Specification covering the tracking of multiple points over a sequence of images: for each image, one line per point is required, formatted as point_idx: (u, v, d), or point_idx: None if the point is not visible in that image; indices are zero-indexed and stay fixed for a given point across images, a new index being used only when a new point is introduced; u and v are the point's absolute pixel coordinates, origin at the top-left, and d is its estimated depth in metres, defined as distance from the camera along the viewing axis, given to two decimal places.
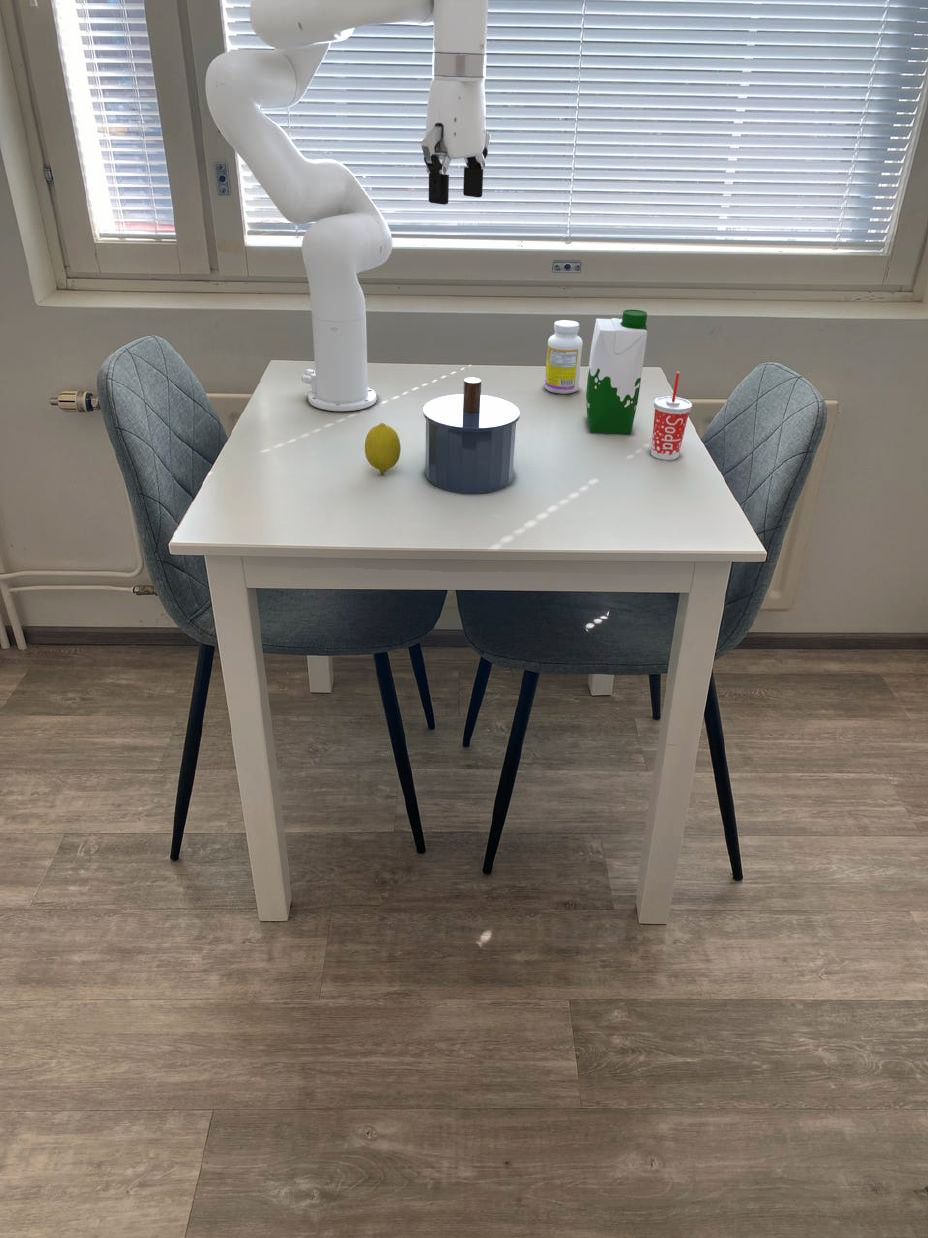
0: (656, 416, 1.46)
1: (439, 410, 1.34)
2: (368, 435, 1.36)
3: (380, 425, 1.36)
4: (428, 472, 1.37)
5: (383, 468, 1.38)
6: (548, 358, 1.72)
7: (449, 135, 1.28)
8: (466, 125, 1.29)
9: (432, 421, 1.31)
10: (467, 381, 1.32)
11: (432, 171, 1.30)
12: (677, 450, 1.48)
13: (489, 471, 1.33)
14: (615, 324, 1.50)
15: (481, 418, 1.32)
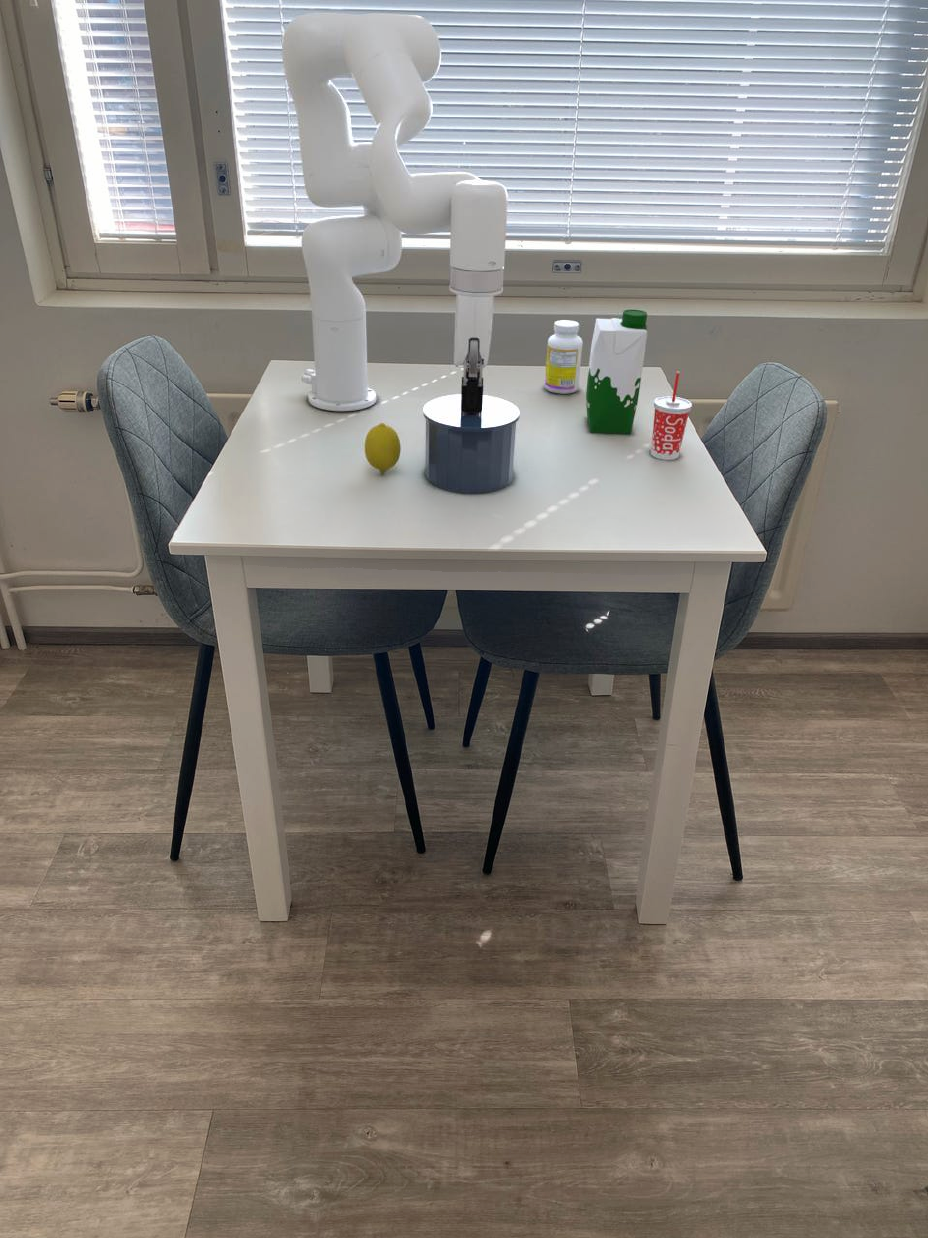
0: (656, 416, 1.46)
1: (439, 410, 1.34)
2: (368, 435, 1.36)
3: (380, 425, 1.36)
4: (428, 472, 1.37)
5: (383, 468, 1.38)
6: (548, 358, 1.72)
7: (486, 348, 1.25)
8: None
9: (432, 421, 1.31)
10: None
11: (470, 385, 1.30)
12: (677, 450, 1.48)
13: (489, 471, 1.33)
14: (615, 324, 1.50)
15: (481, 418, 1.32)
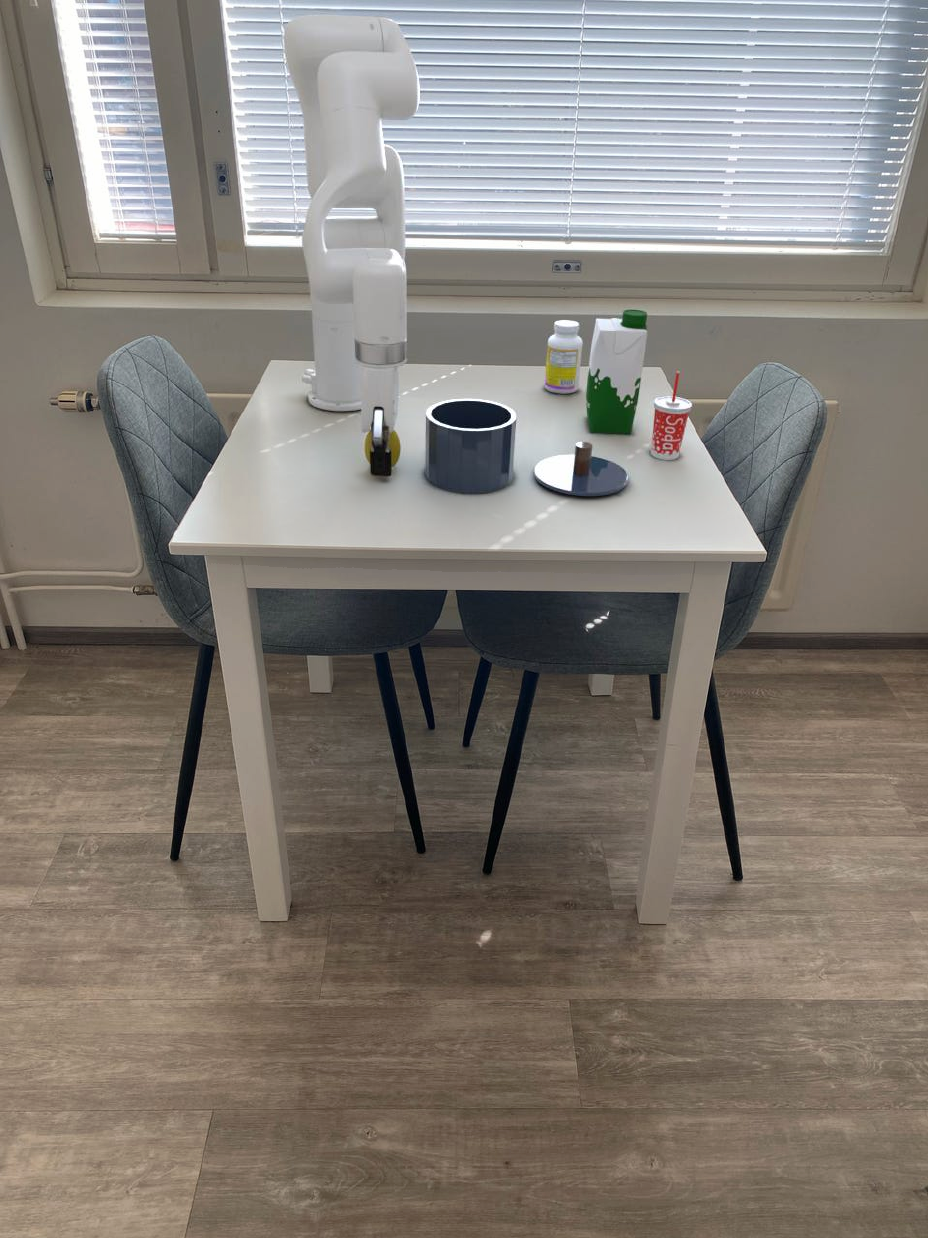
0: (656, 416, 1.46)
1: (550, 473, 1.39)
2: (368, 435, 1.36)
3: None
4: (428, 472, 1.37)
5: None
6: (548, 358, 1.72)
7: (390, 416, 1.30)
8: (397, 401, 1.33)
9: (546, 485, 1.36)
10: (579, 446, 1.37)
11: (377, 451, 1.34)
12: (677, 450, 1.48)
13: (489, 471, 1.33)
14: (615, 324, 1.50)
15: (593, 482, 1.37)
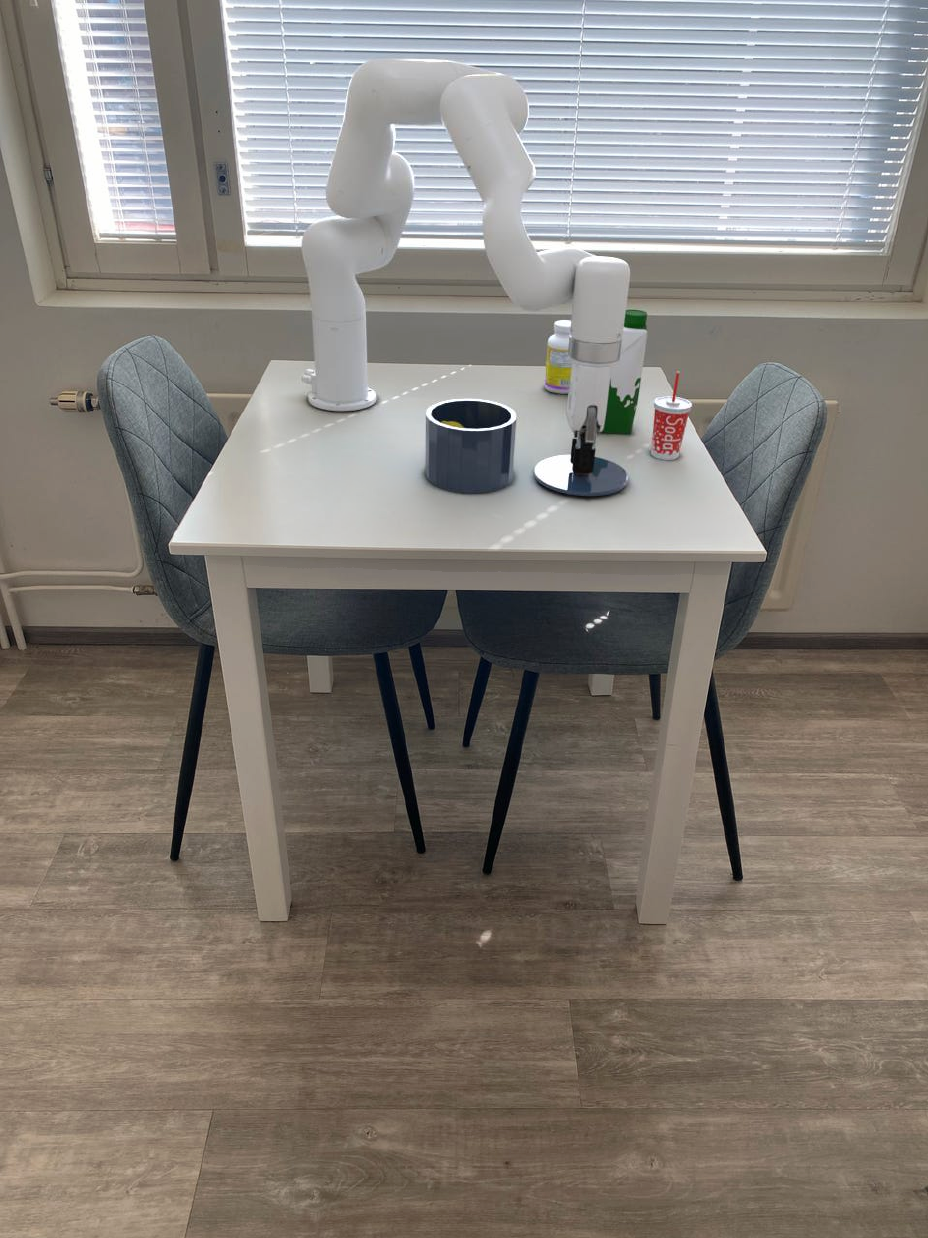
0: (656, 416, 1.46)
1: (550, 473, 1.39)
2: None
3: None
4: (428, 472, 1.37)
5: None
6: (548, 358, 1.72)
7: (603, 415, 1.30)
8: None
9: (546, 485, 1.36)
10: None
11: (584, 448, 1.35)
12: (677, 450, 1.48)
13: (489, 471, 1.33)
14: None
15: (593, 482, 1.37)
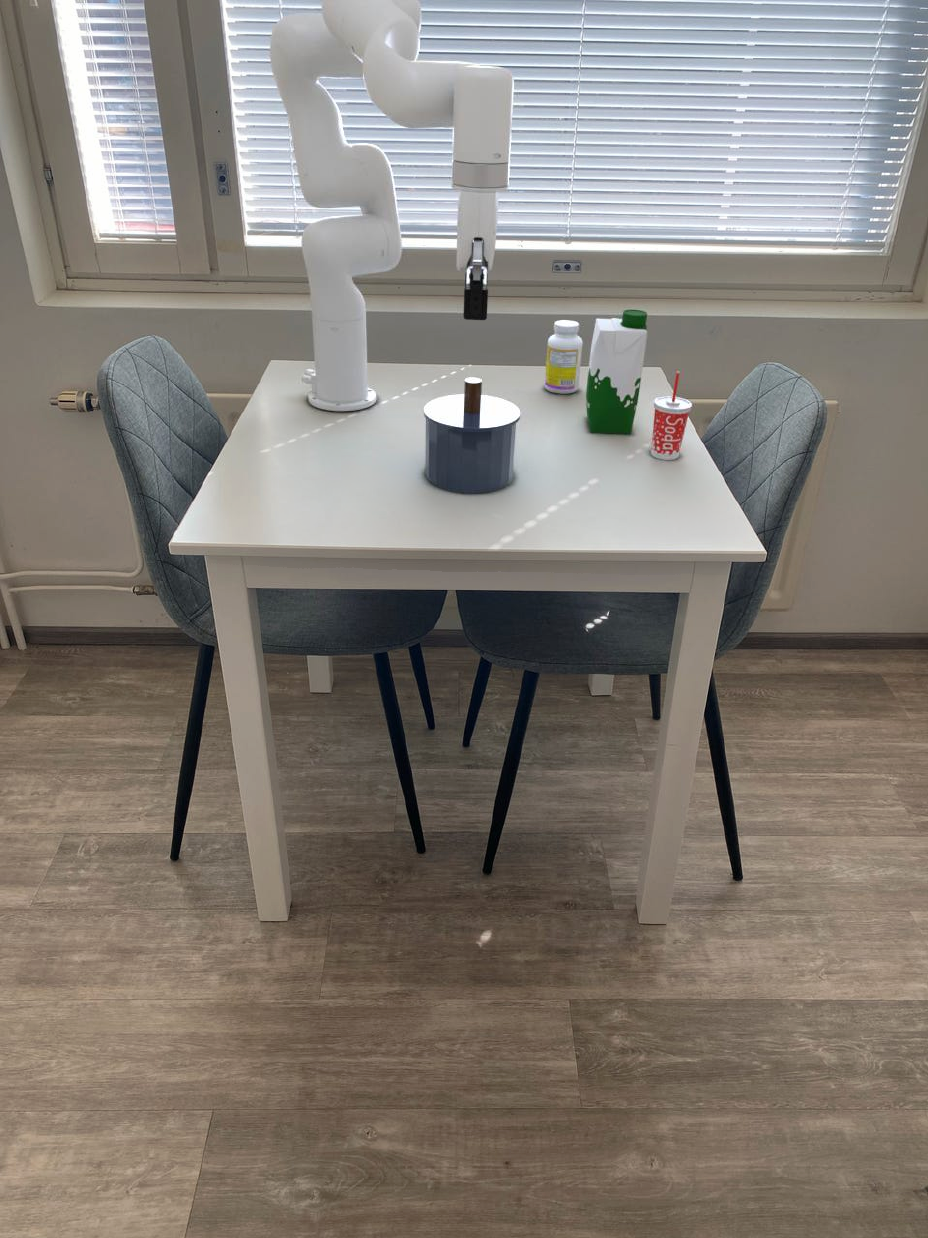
0: (656, 416, 1.46)
1: (440, 410, 1.34)
2: None
3: None
4: (428, 472, 1.37)
5: None
6: (548, 358, 1.72)
7: (490, 249, 1.18)
8: None
9: (433, 421, 1.31)
10: (468, 381, 1.32)
11: (474, 288, 1.19)
12: (677, 450, 1.48)
13: (489, 471, 1.33)
14: (615, 324, 1.50)
15: (482, 418, 1.32)
